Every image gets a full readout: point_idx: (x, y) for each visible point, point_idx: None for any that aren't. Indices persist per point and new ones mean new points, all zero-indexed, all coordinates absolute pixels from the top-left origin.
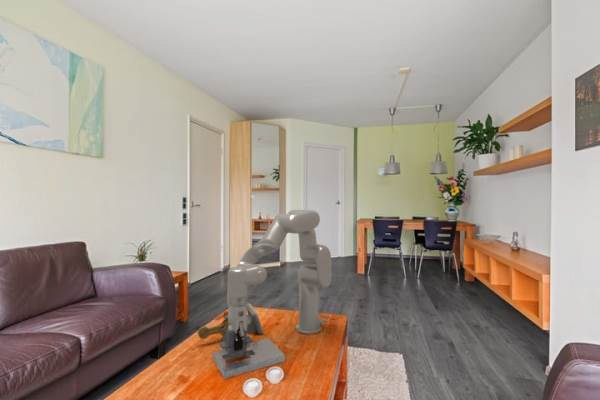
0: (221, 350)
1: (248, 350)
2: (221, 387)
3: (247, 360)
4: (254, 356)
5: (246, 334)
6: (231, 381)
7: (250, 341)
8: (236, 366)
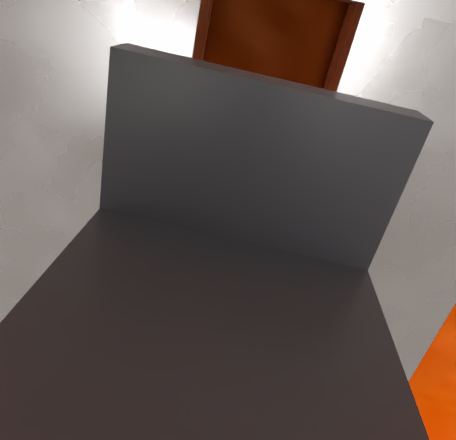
0: (11, 276)
1: (192, 32)
2: (439, 422)
3: (405, 192)
4: (401, 62)
5: (420, 437)
6: (443, 357)
7: (403, 182)
8: (401, 328)
